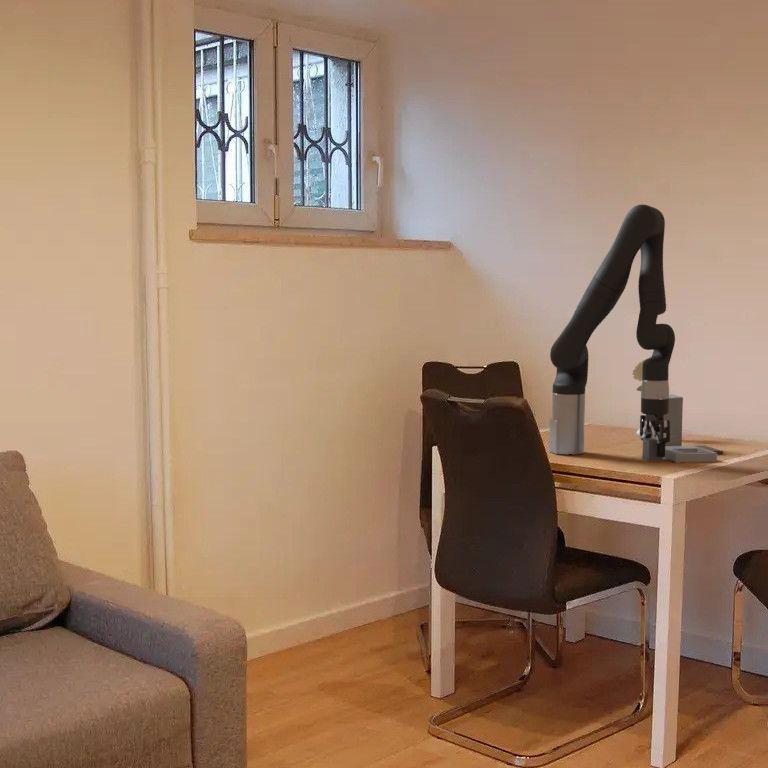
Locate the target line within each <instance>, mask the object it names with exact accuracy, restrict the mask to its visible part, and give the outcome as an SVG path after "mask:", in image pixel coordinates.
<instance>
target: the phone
mask: <svg viewBox="0 0 768 768" xmlns="http://www.w3.org/2000/svg"><path fill="white" fill-rule="evenodd" d="M693 446H696V447H700V448H703V449H706V450H709V451H712V452H715V453H717V454H718V455H723V454H724V451H723V450H720V449H718V448H717V449H716V448H715V447H712V446H707V445H704V444H702V445H701V444H700V445H694V444H693Z"/></svg>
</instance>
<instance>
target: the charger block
mask: <svg viewBox="0 0 768 768" xmlns="http://www.w3.org/2000/svg"><path fill="white" fill-rule="evenodd" d="M641 458H642V459H643V461H645V460H646V461H645V462H647V461H648V463H654V461H663V462H664V458H663V457H660V458H659V457H657V441H656V438H642V457H641ZM651 461H652V462H651Z"/></svg>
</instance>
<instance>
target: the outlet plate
mask: <svg viewBox="0 0 768 768" xmlns="http://www.w3.org/2000/svg"><path fill="white" fill-rule="evenodd" d="M663 460H667V461H669V460H670V462H672V461H673V462H672V463H676V464H677V463H679V464H681V462H687V463H712V462H713V463H715V462H716V463H717V461H718V455H717V453H715V452H712V451H709V450H706V449H703V448H700V447H696V446H694V445H682V446H665V457H663Z"/></svg>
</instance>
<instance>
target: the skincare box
mask: <svg viewBox="0 0 768 768" xmlns="http://www.w3.org/2000/svg"><path fill="white" fill-rule="evenodd" d="M683 406H684V397H683V396H679V395H675V394H669V413H668V414H665V415H664V420H669V421H670V442H667V443H665V446H683V445H682V443H683V442H682V441H683ZM665 436H666V435H665ZM652 438H655V437H654V436H653V437H652ZM659 438H660V437H659Z"/></svg>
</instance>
